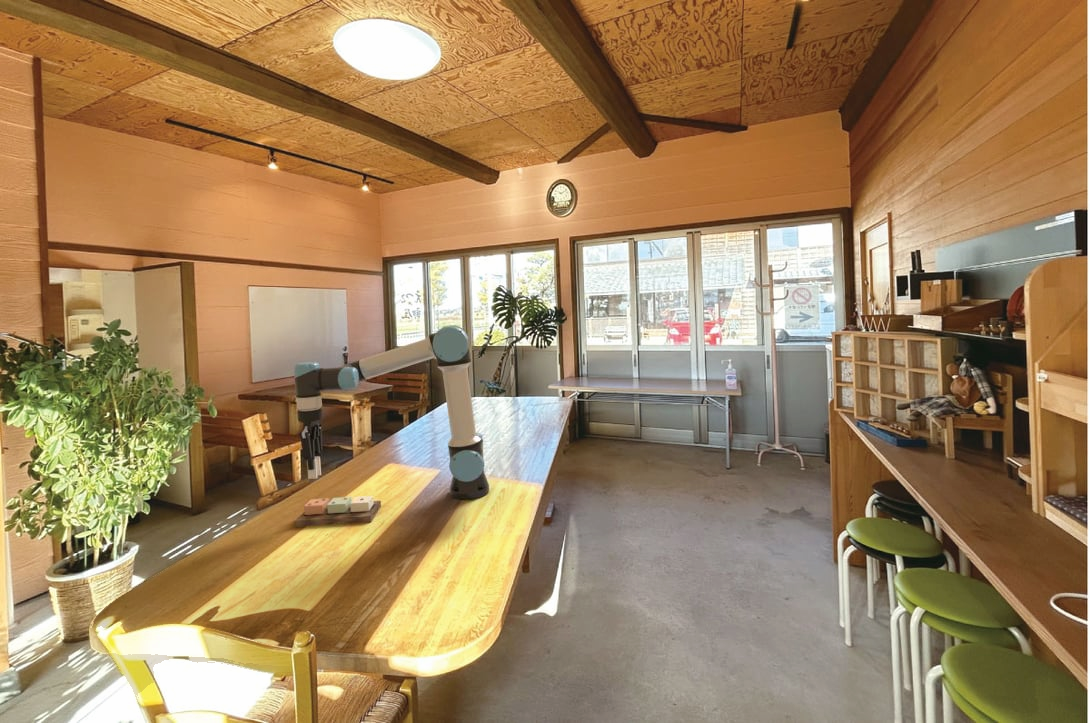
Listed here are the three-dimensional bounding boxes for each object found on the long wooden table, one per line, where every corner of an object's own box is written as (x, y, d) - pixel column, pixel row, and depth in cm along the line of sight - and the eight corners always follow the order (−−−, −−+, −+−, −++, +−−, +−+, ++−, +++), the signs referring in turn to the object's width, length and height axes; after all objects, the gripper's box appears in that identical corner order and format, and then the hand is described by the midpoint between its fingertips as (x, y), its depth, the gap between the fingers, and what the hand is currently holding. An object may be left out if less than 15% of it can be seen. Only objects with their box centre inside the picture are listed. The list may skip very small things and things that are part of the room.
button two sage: (351, 505, 164) (351, 496, 163) (346, 512, 158) (345, 503, 157) (334, 506, 163) (333, 497, 163) (327, 513, 157) (327, 504, 157)
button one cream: (373, 503, 164) (373, 495, 164) (368, 510, 158) (368, 502, 158) (356, 504, 164) (355, 496, 164) (350, 512, 158) (350, 503, 158)
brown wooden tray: (381, 506, 168) (380, 500, 168) (371, 522, 155) (370, 515, 155) (311, 510, 166) (311, 504, 166) (296, 526, 153) (295, 520, 153)
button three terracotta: (329, 506, 163) (329, 497, 163) (323, 513, 157) (322, 504, 157) (311, 507, 162) (311, 499, 162) (304, 514, 157) (303, 505, 156)
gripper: (307, 404, 164) (312, 469, 166) (287, 414, 148) (293, 485, 151) (329, 403, 164) (334, 468, 167) (311, 413, 149) (317, 484, 151)
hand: (314, 476), depth 159 cm, fingers open, 3 cm apart
